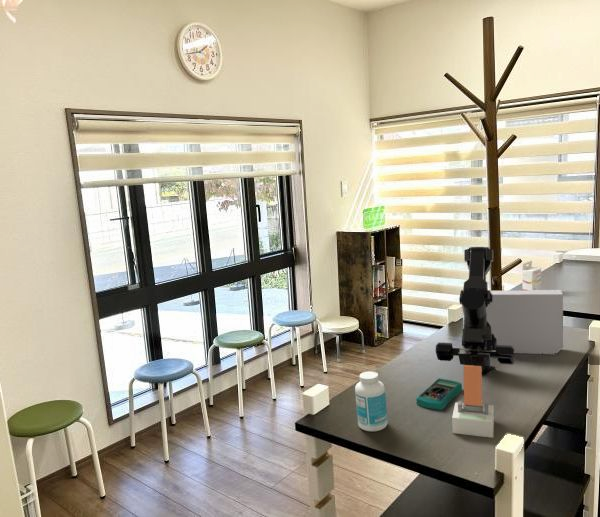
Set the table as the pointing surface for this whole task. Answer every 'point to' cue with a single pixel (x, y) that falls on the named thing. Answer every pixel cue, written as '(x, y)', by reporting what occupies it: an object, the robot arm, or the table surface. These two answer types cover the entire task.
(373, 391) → the pill bottle
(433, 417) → the table surface
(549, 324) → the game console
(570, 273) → the table surface
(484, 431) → the switch base
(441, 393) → the digital multimeter
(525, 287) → the ink cartridge box
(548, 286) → the table surface
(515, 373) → the table surface
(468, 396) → the lever
